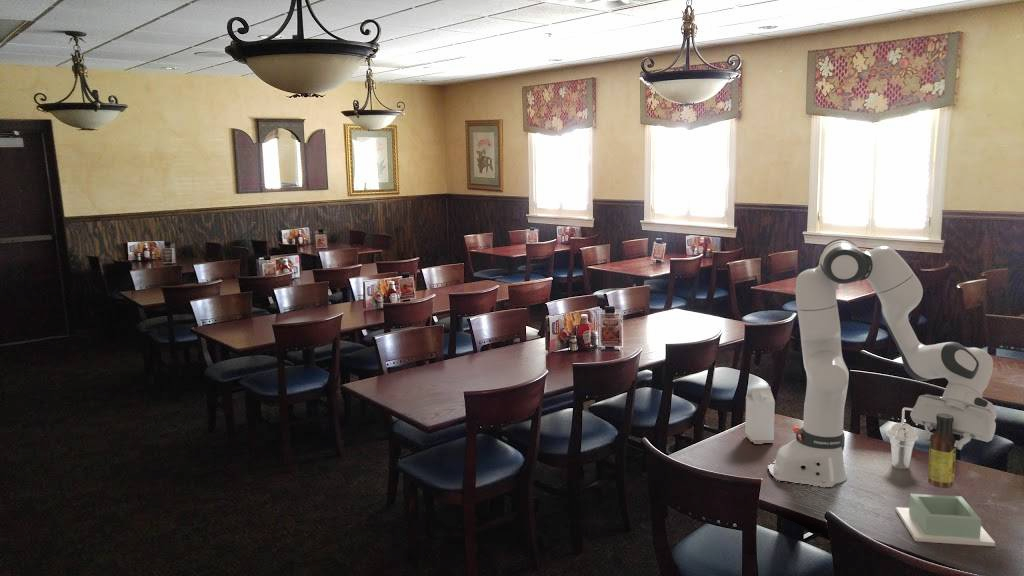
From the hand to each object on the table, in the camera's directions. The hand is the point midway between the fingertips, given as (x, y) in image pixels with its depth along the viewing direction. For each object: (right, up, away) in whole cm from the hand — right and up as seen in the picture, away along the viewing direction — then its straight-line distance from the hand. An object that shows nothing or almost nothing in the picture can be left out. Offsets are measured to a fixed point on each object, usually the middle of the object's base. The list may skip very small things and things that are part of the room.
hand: (942, 443), depth 197 cm
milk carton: (-33, -10, +51) cm, 61 cm away
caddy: (-5, -20, -9) cm, 22 cm away
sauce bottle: (+1, -12, +3) cm, 12 cm away
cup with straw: (+3, -13, +27) cm, 30 cm away
